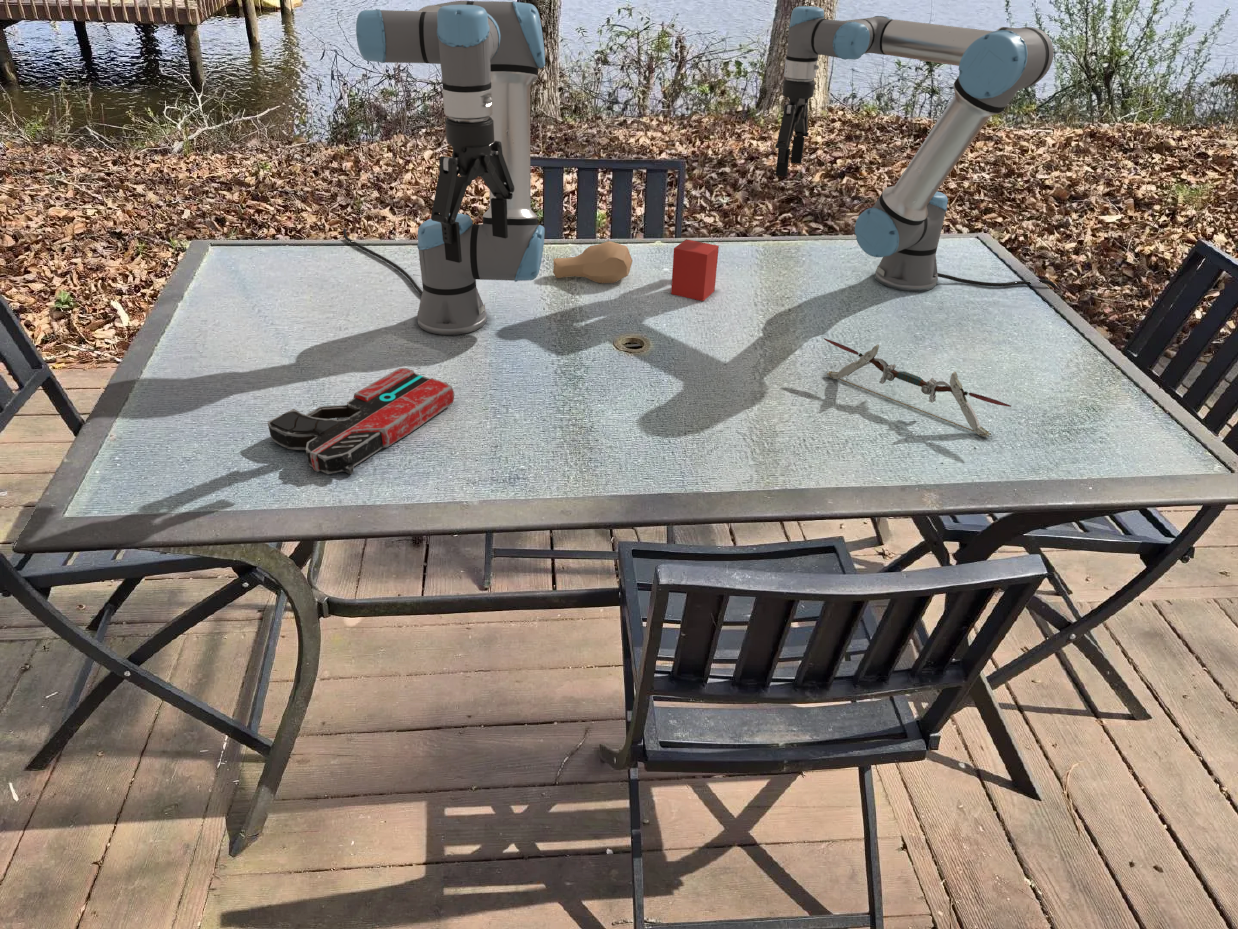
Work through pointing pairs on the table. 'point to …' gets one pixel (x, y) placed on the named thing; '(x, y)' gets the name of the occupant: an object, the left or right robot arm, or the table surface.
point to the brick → (694, 269)
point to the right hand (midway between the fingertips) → (788, 169)
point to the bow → (927, 387)
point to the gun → (362, 421)
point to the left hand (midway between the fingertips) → (477, 248)
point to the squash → (596, 263)
